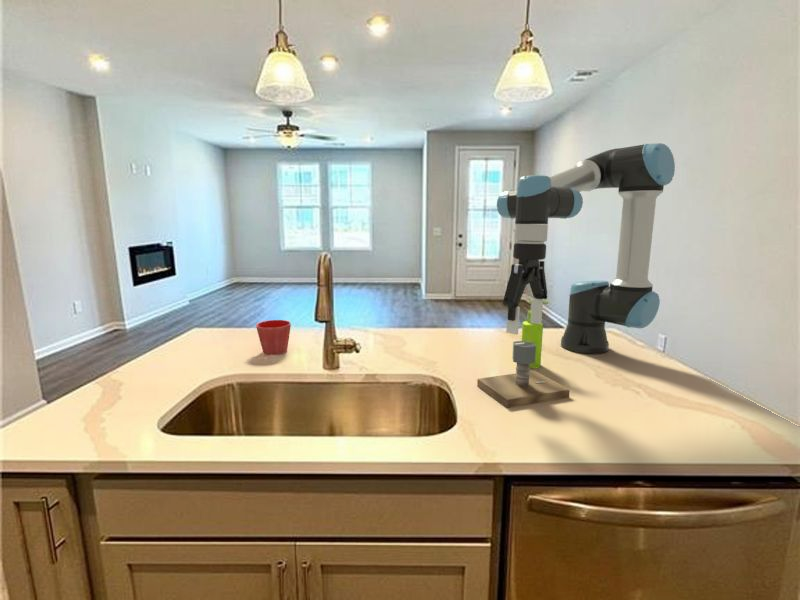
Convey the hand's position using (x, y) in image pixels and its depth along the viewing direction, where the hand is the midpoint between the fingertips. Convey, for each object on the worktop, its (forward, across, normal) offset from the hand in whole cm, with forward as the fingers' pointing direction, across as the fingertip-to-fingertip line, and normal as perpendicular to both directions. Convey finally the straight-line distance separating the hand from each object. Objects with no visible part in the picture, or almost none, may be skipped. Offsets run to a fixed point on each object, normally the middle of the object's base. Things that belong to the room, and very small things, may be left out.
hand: (524, 328), depth 106 cm
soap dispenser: (+17, -22, -6) cm, 28 cm away
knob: (+8, 0, 0) cm, 9 cm away
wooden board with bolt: (+17, 0, 0) cm, 17 cm away
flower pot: (+18, +22, -77) cm, 82 cm away
